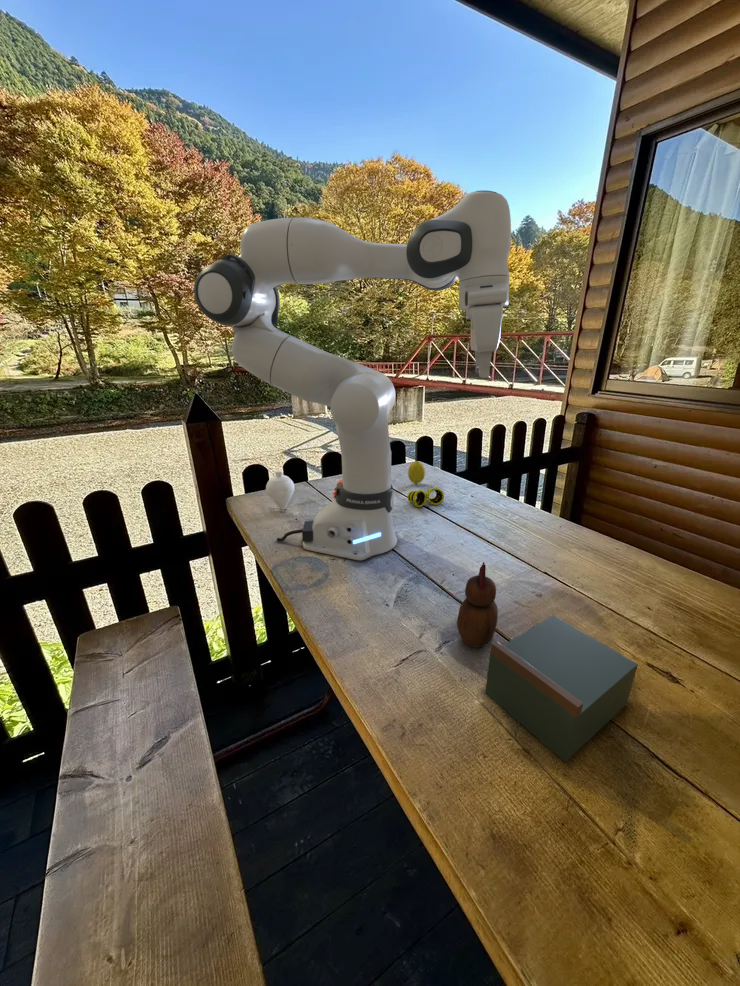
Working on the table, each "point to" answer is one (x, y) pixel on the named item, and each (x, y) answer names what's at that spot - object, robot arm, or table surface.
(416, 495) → the opera glasses
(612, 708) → the step stand
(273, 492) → the spinning top
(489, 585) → the wooden figurine
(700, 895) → the table surface
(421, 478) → the lemon
